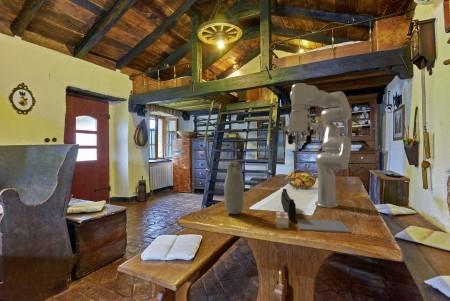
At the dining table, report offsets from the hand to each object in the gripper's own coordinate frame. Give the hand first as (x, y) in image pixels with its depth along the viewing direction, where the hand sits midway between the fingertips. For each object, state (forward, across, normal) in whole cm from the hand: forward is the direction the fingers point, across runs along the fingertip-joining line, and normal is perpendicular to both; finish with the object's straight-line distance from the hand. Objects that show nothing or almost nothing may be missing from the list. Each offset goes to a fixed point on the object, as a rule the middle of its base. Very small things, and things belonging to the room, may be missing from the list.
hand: (299, 144), depth 116 cm
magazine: (+37, +8, -4) cm, 38 cm away
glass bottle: (+37, +28, +17) cm, 50 cm away
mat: (+37, -13, +4) cm, 39 cm away
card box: (+37, +1, +14) cm, 40 cm away
